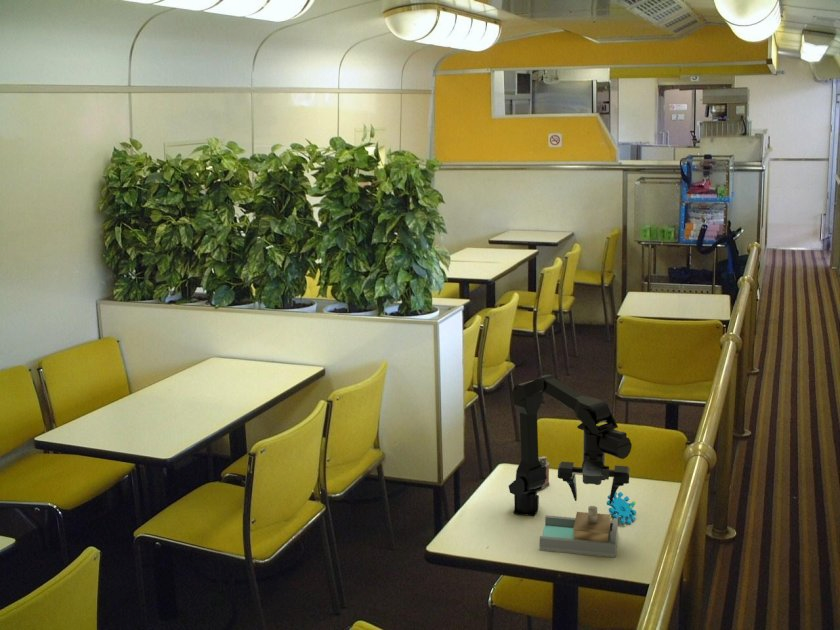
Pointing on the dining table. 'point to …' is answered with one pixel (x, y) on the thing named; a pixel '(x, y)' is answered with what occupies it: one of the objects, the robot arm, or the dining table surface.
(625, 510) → the gear
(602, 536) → the crate
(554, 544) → the bay
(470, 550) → the dining table surface
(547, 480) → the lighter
